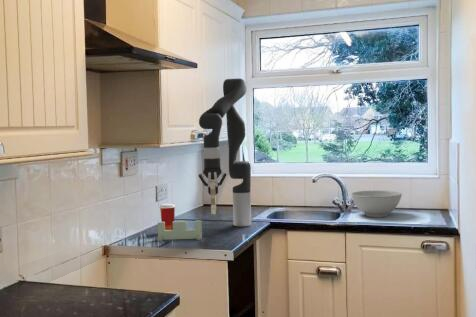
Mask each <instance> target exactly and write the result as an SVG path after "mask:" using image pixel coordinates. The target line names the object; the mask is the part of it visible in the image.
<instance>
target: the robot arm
mask: <svg viewBox="0 0 476 317" xmlns="http://www.w3.org/2000/svg"><path fill="white" fill-rule="evenodd" d="M247 88H248V86H247V82H246V80H245V79H244V78H226V79H225V80H224V81H223V84H222V91H223V92H222V93H223V96H221V97H220V98H219V99H218V100H216V102H214V104H213V105H212V106H211V108H209V109H207V110H205V111H204V112H203V113H202V114H200V116H199V119H198V125H199V127H200V128H201V129H203V130H211V132H210V133H208V134H205V135H204V136H203V170H202V173H199V174H198V177H199V179H200V181H201V182H202V185H203V186H204V187H207V192H208V194H209V196H211V190H210V179H215V195H216V196H217V195H218V193H219V187H220V186H222V185H223V183H224V181H225V179H226V177H227V173H226V172H223V170H222V169H221V150H220V135H221V129H222V126H223V118H224V117H226V131H227V133H226V134H227V142H228V145H227V146H228V175H229V177H230V178H231V179H232V180H242V182H240V183H239V184H237V185H235V186H232V212H233V214H232V215H233V217H232V218H233V219H232V220H233V226H235V227H250V226H251V225H252V198H251V197H252V196H251V195H252V194H251V183H252V182H251V179H252V178H251V174H252V170H251V169H252V168H251V167H252V166H251V163H250V161H248V160H241V161H240V160H237V154H238V152H239V150H240V147H241V145H242V144H243V142H244V140H245V137H246V123H245V120H244V117H243V116H242V115H241V114H240V112H239V111H238V109H237V107H236V105H235V104H236V103H237V102H238V101H239V100H241V99H242V98H243V97H244V96H245V95H246V93H247V90H248V89H247ZM225 115H226V116H225ZM204 176H205V177H206V178H207V181H206V179H205V178H204ZM220 176H221V179H220V181H219V182H218V179H219V177H220Z"/></svg>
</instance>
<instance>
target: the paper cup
mask: <svg viewBox="0 0 476 317" xmlns="http://www.w3.org/2000/svg"><path fill="white" fill-rule="evenodd" d="M159 209H160V220H161V221H160V222H165V230H173V221H175V220H176V218H175V216H176V215H175V214H176V212H175V210H176V205H175V203H170V202H169V203H161V204H160V205H159Z"/></svg>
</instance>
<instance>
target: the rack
mask: <svg viewBox="0 0 476 317" xmlns="http://www.w3.org/2000/svg"><path fill="white" fill-rule="evenodd" d="M193 222H194V223H193V224H194V228H193V229H190V228H188V227H187V221H186V220H177V221H176V220H174V221H173V230H165V222H162V221H157V238H156V239H157V242H163V240H164V241H165V240H166V241H167V240H168V241H169V240H188V239H189V240H191V239H192V240H193V239H194V240H195V239H196V240H197V241H202V237H203V232H202V228H203V227H202V220H194V221H193ZM187 228H188V229H187Z"/></svg>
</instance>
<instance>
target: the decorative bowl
mask: <svg viewBox="0 0 476 317" xmlns="http://www.w3.org/2000/svg"><path fill="white" fill-rule="evenodd" d="M402 195H403V194H402V193H401V192H399V191H395V190H394V191H392V190H358V191H353V192H352V193H351V198H352V201H353V202H354V205H355V207H357V209H358V210H360V211H361V212H362V213H364V215H365V217H370V218H382V217H383V218H384V217H387V216H389V213H390V214H391V213H392V211H394V210H396V208H397V206H398V205H399V203H400V201H401V198H402Z"/></svg>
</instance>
